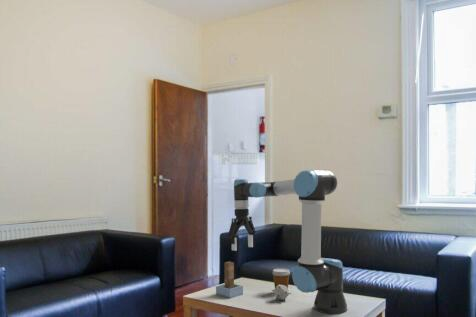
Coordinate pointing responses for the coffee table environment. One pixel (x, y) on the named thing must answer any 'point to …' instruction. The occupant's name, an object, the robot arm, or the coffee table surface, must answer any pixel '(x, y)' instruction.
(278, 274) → the disposable coffee cup
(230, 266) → the long wooden beam
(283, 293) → the game die
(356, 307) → the coffee table surface
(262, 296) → the coffee table surface
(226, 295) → the light blue square bin
